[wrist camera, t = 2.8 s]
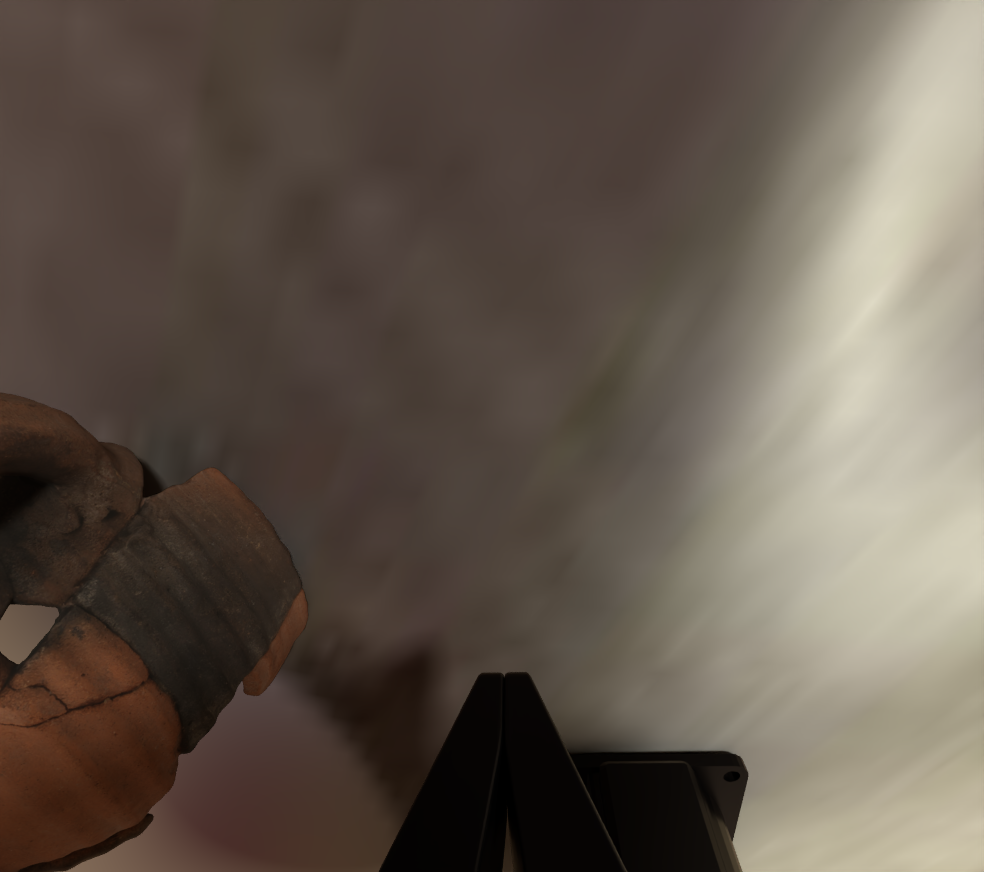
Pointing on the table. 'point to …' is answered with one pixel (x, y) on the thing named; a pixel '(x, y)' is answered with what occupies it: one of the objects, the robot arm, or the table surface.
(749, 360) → the table surface
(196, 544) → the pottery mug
